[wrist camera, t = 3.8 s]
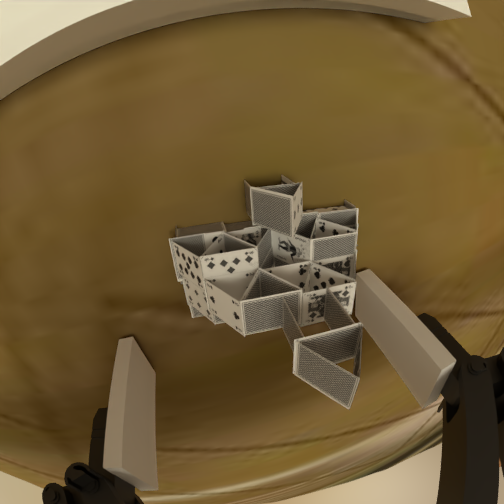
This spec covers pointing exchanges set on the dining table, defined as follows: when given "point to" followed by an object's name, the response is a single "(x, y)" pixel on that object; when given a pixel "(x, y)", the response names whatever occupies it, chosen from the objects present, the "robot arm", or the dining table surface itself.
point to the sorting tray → (145, 24)
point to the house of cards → (281, 280)
